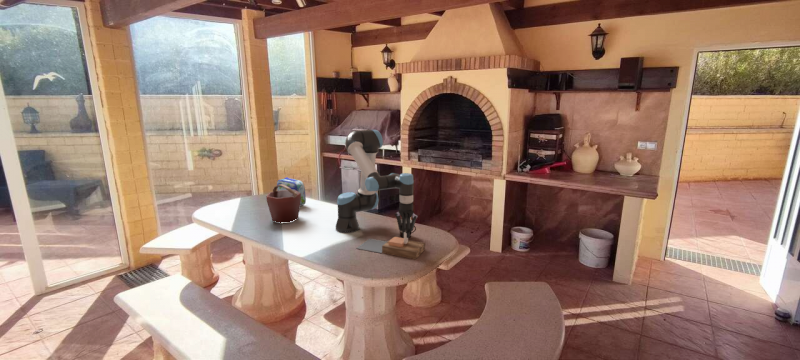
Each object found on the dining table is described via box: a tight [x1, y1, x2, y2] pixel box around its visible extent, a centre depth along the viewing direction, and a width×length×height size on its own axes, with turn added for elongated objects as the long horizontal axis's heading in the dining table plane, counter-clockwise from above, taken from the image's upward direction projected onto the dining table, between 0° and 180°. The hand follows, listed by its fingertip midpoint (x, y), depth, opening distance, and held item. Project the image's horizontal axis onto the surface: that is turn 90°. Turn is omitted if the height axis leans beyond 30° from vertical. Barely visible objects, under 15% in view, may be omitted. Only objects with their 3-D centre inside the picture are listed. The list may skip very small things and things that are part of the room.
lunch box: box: [276, 176, 307, 207], centre depth 301 cm, size 26×11×21 cm, turn 51°
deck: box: [381, 239, 426, 260], centre depth 214 cm, size 14×20×4 cm
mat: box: [355, 238, 388, 254], centre depth 222 cm, size 16×16×1 cm
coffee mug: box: [399, 218, 417, 239], centre depth 234 cm, size 12×9×10 cm
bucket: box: [266, 184, 301, 224], centre depth 264 cm, size 24×22×25 cm
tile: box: [388, 236, 405, 247], centre depth 215 cm, size 8×8×2 cm
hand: (406, 242), depth 213 cm, fingers closed
